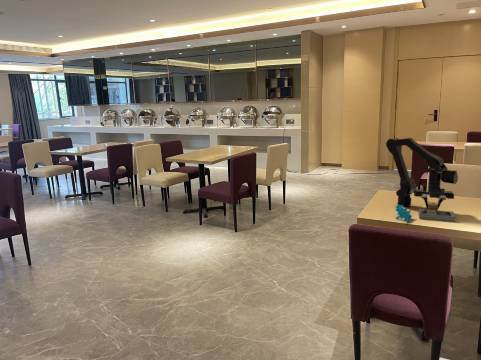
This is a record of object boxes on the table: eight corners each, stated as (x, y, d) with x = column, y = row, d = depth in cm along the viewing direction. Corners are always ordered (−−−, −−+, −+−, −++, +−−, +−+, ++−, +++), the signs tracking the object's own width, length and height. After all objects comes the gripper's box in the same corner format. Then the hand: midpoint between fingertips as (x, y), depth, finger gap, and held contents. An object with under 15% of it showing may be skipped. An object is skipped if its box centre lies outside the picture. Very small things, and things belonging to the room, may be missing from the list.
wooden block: (427, 212, 198) (428, 203, 197) (427, 209, 202) (427, 201, 201) (437, 212, 197) (437, 204, 196) (436, 210, 201) (437, 202, 200)
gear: (404, 221, 180) (394, 204, 185) (396, 227, 184) (385, 210, 189) (417, 219, 186) (406, 203, 191) (408, 225, 190) (398, 209, 195)
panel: (419, 218, 188) (419, 213, 188) (418, 213, 196) (418, 208, 196) (455, 221, 182) (455, 216, 182) (452, 216, 190) (453, 211, 190)
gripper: (415, 183, 192) (413, 212, 196) (457, 185, 185) (454, 215, 189) (414, 178, 202) (412, 206, 206) (453, 180, 195) (451, 209, 199)
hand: (432, 209), depth 199 cm, fingers closed on wooden block, 4 cm apart
